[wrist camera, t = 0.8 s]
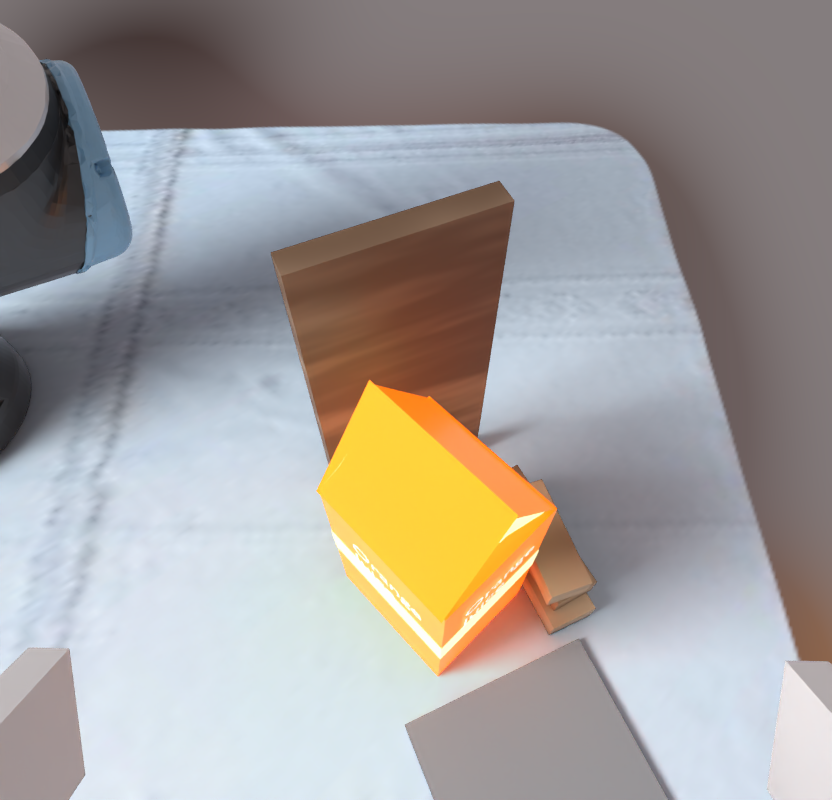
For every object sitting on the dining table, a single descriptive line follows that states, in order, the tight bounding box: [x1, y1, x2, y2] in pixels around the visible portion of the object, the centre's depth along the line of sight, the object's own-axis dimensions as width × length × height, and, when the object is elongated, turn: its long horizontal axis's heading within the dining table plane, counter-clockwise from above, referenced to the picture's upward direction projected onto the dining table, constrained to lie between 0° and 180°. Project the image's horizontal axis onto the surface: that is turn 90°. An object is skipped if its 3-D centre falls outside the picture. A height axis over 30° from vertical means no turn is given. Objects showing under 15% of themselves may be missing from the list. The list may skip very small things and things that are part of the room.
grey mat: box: [405, 639, 668, 800], centre depth 37 cm, size 12×12×1 cm
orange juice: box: [317, 380, 557, 676], centre depth 35 cm, size 8×9×20 cm
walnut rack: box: [271, 181, 597, 635], centre depth 35 cm, size 18×12×24 cm, turn 24°
